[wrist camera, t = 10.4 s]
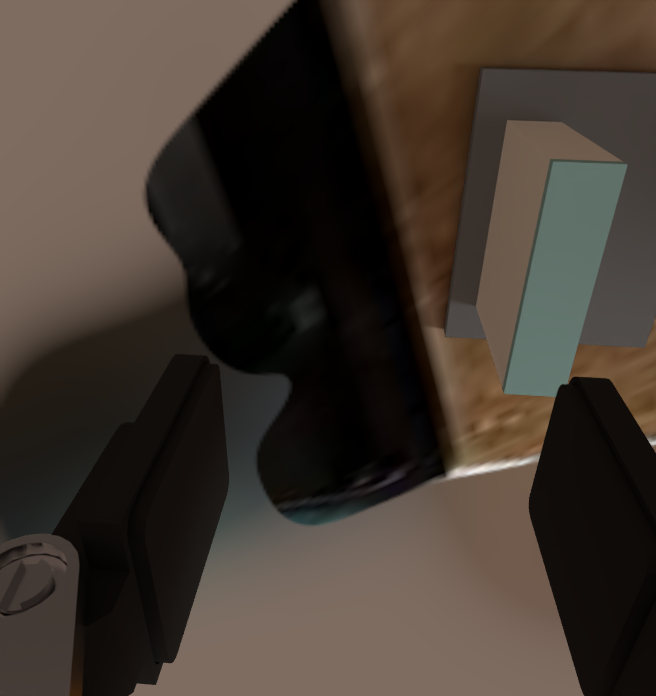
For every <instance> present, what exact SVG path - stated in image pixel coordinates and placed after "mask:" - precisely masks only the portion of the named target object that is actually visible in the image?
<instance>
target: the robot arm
mask: <svg viewBox="0 0 656 696" xmlns="http://www.w3.org/2000/svg"><path fill="white" fill-rule="evenodd" d="M228 485H229V472H228V460H227V449H226V438H225V425H224V415H223V403H222V391H221V380H220V370H219V366H218V365H217V364H210V362H209V359H208V357H207V356H202V355H185V354H175V355H174V357H173V358H172V359H171V361H170V363H169V365H168V366H167V368H166V370H165V371H164V373H163V375H162V377H161V378H160V380H159V381H158V383H157V385H156V387H155V388H154V390H153V392H152V394H151V395H150V397H149V399H148V400H147V402H146V404H145V405H144V407H143V409H142V411H141V412H140V414H139V416H138V417H137V419H136V421H135V422H134V423H130V422H125V423H123V424H121V425H120V426H119V428H118V429H117V430H116V431H115V433H114V435H113V436H112V438H111V439H110V441H109V443H108V444H107V446H106V448H105V449H104V451H103V452H102V454H101V456H100V457H99V459H98V461H97V462H96V464H95V465H94V467H93V469H92V470H91V472H90V473H89V475H88V477H87V478H86V480H85V481H84V483H83V485H82V486H81V488H80V489H79V491H78V493H77V494H76V496H75V498H74V499H73V501H72V503H71V504H70V506H69V507H68V509H67V511H66V512H65V514H64V515H63V517H62V519H61V520H60V522H59V524H58V525H57V527H56V528H55V530H54V532H53V533H52V535H49V534H35V535H27V536H23V537H20V538H16V539H13V540H10V541H8V542H6V543H4V544H2V545H0V696H129V695H130V694H132V693H133V692H134V689H135V686H136V684H137V683H140V684H152V685H156V683H157V680H158V677H159V674H160V671H161V668H162V665H163V663H172V662H174V660H175V658H176V656H177V653H178V650H179V647H180V643H181V640H182V637H183V634H184V631H185V627H186V624H187V621H188V618H189V615H190V611H191V608H192V605H193V602H194V599H195V595H196V592H197V589H198V586H199V582H200V579H201V576H202V573H203V569H204V566H205V563H206V560H207V557H208V554H209V550H210V547H211V544H212V541H213V537H214V534H215V531H216V528H217V525H218V522H219V518H220V515H221V512H222V508H223V506H224V502H225V499H226V496H227V492H228ZM529 513H530V518H531V521H532V525H533V528H534V531H535V535H536V538H537V542H538V545H539V548H540V552H541V555H542V558H543V562H544V565H545V569H546V572H547V575H548V579H549V582H550V586H551V589H552V592H553V596H554V599H555V602H556V605H557V609H558V612H559V616H560V619H561V622H562V626H563V629H564V633H565V636H566V639H567V643H568V646H569V650H570V653H571V656H572V660H573V663H574V667H575V670H576V673H577V677H578V680H579V684H580V687H581V689H582V692H583V694H584V696H656V453H655V451H654V449H653V448H652V446H651V445H650V443H649V441H648V440H647V438H646V437H645V435H644V433H643V432H642V430H641V428H640V427H639V425H638V424H637V422H636V420H635V419H634V417H633V416H632V414H631V412H630V411H629V409H628V407H627V406H626V404H625V403H624V401H623V399H622V398H621V396H620V395H619V393H618V391H617V390H616V388H615V386H614V385H613V383H612V382H611V381H610V380H609V379H606V378H590V377H573V378H572V379H571V381H570V382H569V384H562V385H560V387H559V388H558V391H557V395H556V398H555V402H554V406H553V410H552V414H551V417H550V421H549V425H548V429H547V432H546V436H545V440H544V444H543V447H542V451H541V455H540V459H539V462H538V466H537V470H536V474H535V478H534V482H533V485H532V489H531V493H530V497H529Z"/></svg>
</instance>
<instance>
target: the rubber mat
mask: <svg viewBox="0 0 656 696" xmlns="http://www.w3.org/2000/svg"><path fill="white" fill-rule="evenodd" d="M507 120H519V121H548V122H562V123H564V124H565V125H567V126H568V127H570V128H572V129H573V130H575V131H576V132H578V133H579V134H581V135H583V136H584V137H586V138H587V139H589V140H590V141H592V142H593V143H595V144H597V145H598V146H600V147H601V148H603V149H604V150H606V151H607V152H609V153H611V154H612V155H614V156H615V157H617V158H618V159H620V160H622V161H623V162H625V163H626V164H628V165H627V169H626V173H625V176H624V180H623V183H622V187H621V191H620V194H619V198H618V201H617V205H616V209H615V212H614V216H613V220H612V223H611V227H610V230H609V234H608V238H607V241H606V245H605V249H604V252H603V256H602V259H601V263H600V267H599V270H598V274H597V277H596V281H595V285H594V288H593V292H592V296H591V299H590V303H589V306H588V310H587V314H586V317H585V321H584V325H583V328H582V332H581V335H580V339H579V343H578V344H587V345H605V346H623V347H641V348H645V345H646V342H647V339H648V336H649V333H650V331H651V328H652V325H653V322H654V319H655V316H656V72H624V71H590V70H555V69H521V68H487V67H480V73H479V80H478V87H477V94H476V102H475V109H474V116H473V123H472V131H471V138H470V145H469V152H468V160H467V167H466V174H465V181H464V189H463V196H462V203H461V210H460V217H459V225H458V232H457V239H456V246H455V254H454V261H453V268H452V275H451V283H450V290H449V297H448V304H447V312H446V319H445V326H444V332H445V337H459V338H477V339H486V336H485V333H484V330H483V326H482V323H481V320H480V317H479V314H478V311H477V308H476V303H477V297H478V291H479V285H480V279H481V273H482V267H483V261H484V255H485V250H486V244H487V238H488V232H489V226H490V220H491V214H492V208H493V202H494V196H495V190H496V184H497V178H498V172H499V166H500V160H501V154H502V148H503V142H504V136H505V130H506V124H507Z"/></svg>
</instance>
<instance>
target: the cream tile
mask: <svg viewBox="0 0 656 696" xmlns="http://www.w3.org/2000/svg"><path fill="white" fill-rule="evenodd" d="M627 165H628V164H626V163H625V162H623V161H622V160H620V159H618V158H617V157H615V156H614V155H612V154H611V153H609V152H607V151H606V150H604V149H603V148H601V147H600V146H598V145H597V144H595V143H593V142H592V141H590V140H589V139H587V138H586V137H584V136H583V135H581V134H579V133H578V132H576V131H575V130H573V129H572V128H570V127H568V126H567V125H565V124H564V123H562V122H548V121H519V120H507V124H506V130H505V136H504V142H503V148H502V154H501V160H500V166H499V172H498V178H497V184H496V190H495V196H494V202H493V208H492V214H491V220H490V226H489V232H488V238H487V244H486V250H485V255H484V261H483V267H482V273H481V279H480V285H479V291H478V297H477V303H476V308H477V311H478V314H479V317H480V320H481V323H482V326H483V330H484V333H485V336H486V339H487V342H488V345H489V348H490V351H491V355H492V358H493V361H494V364H495V367H496V370H497V373H498V376H499V380H500V383H501V386H502V389H503V392H504V394H518V395H534V396H551V397H556V395H557V391H558V388H559V387H560V385H562V384H567V382H568V379H569V375H570V372H571V368H572V364H573V361H574V357H575V354H576V350H577V346H578V343H579V339H580V335H581V332H582V328H583V325H584V321H585V317H586V314H587V310H588V306H589V303H590V299H591V296H592V292H593V288H594V285H595V281H596V277H597V274H598V270H599V267H600V263H601V259H602V256H603V252H604V249H605V245H606V241H607V238H608V234H609V230H610V227H611V223H612V220H613V216H614V212H615V209H616V205H617V201H618V198H619V194H620V191H621V187H622V183H623V180H624V176H625V173H626V169H627Z"/></svg>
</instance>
